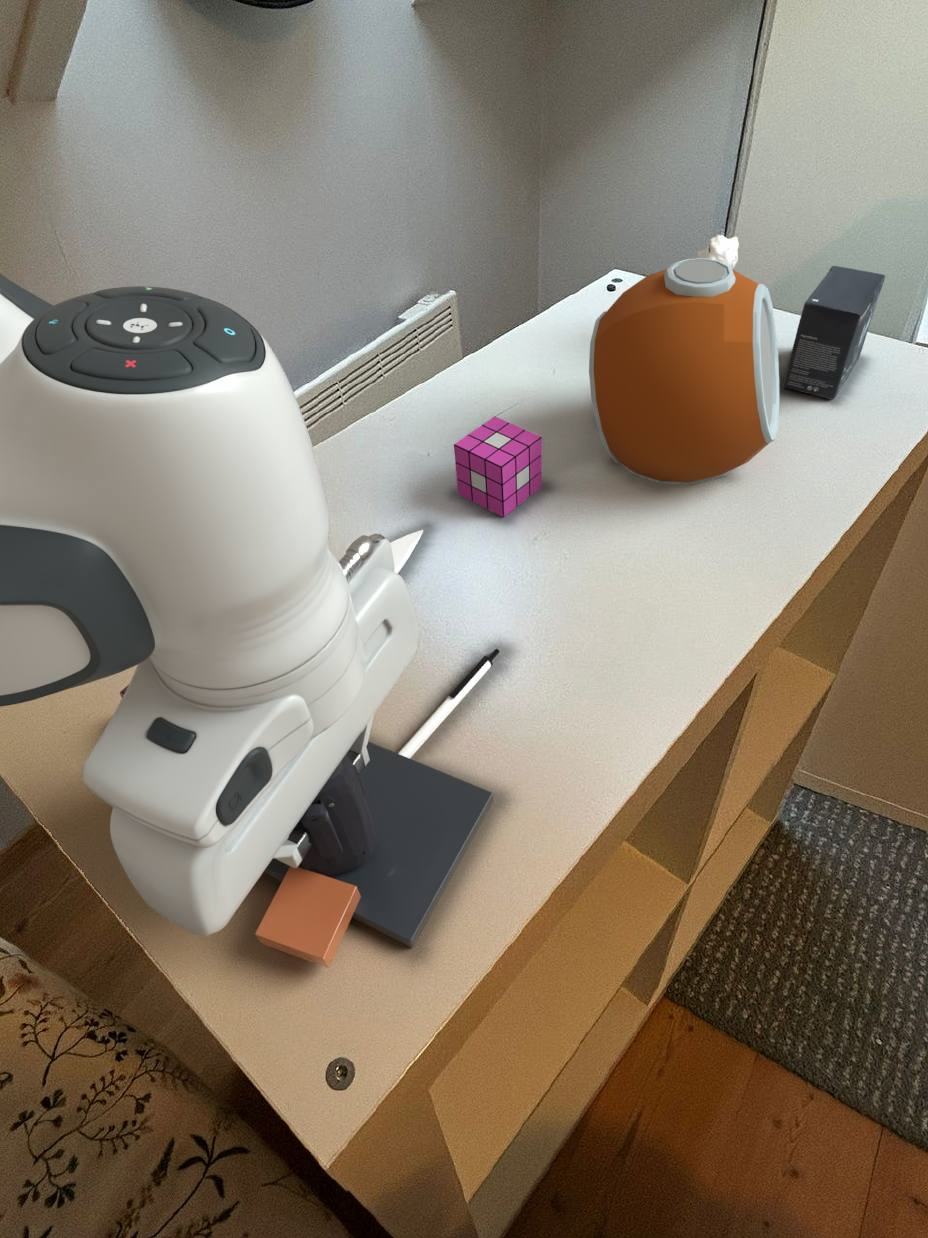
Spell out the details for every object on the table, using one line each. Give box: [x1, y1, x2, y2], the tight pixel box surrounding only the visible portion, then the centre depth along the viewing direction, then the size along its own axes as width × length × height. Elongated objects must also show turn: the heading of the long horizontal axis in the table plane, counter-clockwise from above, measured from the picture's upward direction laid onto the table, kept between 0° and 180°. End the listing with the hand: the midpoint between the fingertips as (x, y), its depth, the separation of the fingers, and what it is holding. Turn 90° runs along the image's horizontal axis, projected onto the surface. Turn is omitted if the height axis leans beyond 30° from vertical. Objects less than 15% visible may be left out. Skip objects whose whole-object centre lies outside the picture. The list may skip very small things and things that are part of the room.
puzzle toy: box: [453, 415, 543, 518], centre depth 76 cm, size 6×6×6 cm
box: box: [782, 265, 886, 400], centre depth 84 cm, size 9×6×10 cm, turn 147°
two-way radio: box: [294, 755, 377, 876], centre depth 46 cm, size 6×4×15 cm
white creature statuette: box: [696, 234, 740, 270], centre depth 89 cm, size 10×9×12 cm
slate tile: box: [263, 741, 494, 949], centre depth 54 cm, size 13×11×1 cm
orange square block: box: [254, 866, 361, 969], centre depth 49 cm, size 4×4×2 cm
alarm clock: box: [588, 257, 780, 485], centre depth 74 cm, size 19×18×17 cm
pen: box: [396, 648, 500, 759], centre depth 59 cm, size 1×19×1 cm, turn 144°
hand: (323, 809), depth 47 cm, fingers closed on two-way radio, 5 cm apart
